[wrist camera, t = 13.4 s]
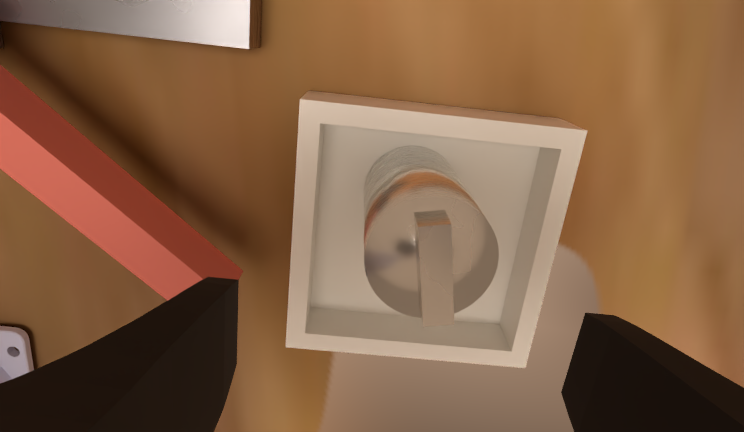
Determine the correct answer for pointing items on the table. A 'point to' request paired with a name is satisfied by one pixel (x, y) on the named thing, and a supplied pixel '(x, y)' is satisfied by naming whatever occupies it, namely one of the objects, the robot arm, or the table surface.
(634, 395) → the robot arm
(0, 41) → the keeper post
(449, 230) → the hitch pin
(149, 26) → the grey flat square ring
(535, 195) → the tray
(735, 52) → the table surface
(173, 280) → the bar
